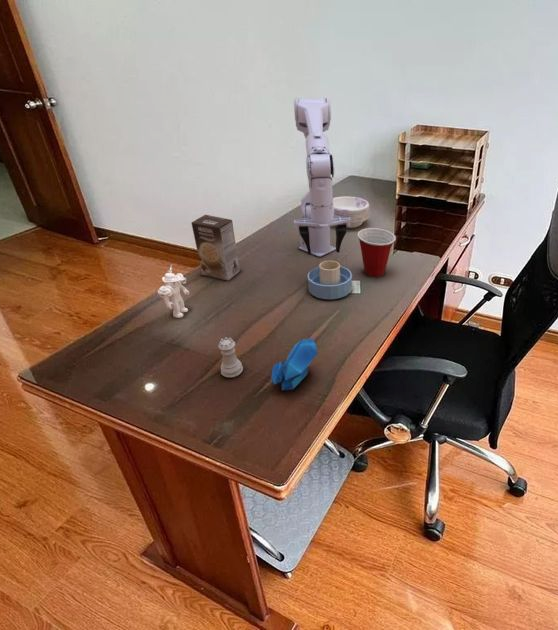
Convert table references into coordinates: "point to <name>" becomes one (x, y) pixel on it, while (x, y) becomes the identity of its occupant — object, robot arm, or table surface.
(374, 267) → the plastic cup
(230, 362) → the rook chess piece
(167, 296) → the flower shoulder figurine
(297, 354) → the crystal
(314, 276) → the bowl
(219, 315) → the table surface
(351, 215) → the paper bowls
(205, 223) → the coffee box
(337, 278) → the cup
